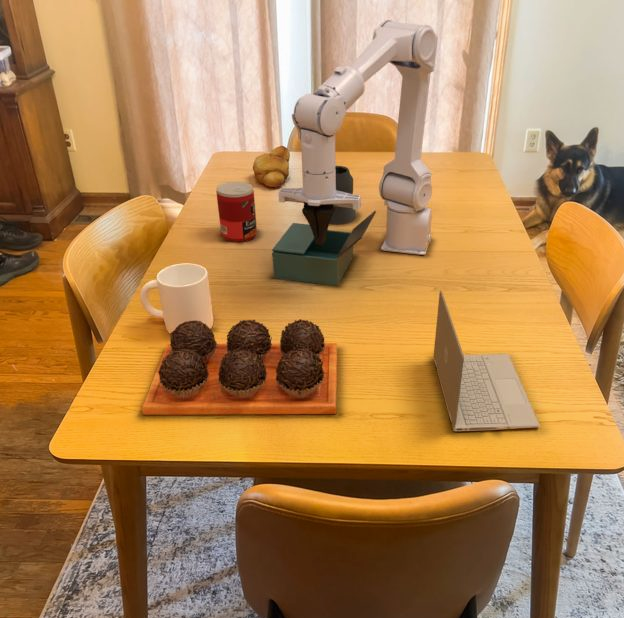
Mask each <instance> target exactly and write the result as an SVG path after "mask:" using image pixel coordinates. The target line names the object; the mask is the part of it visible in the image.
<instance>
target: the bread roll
mask: <svg viewBox="0 0 624 618" xmlns="http://www.w3.org/2000/svg"><path fill="white" fill-rule="evenodd" d="M290 157H291V154H290V150H289V149H288V147H286V146H284V145H279V146H276V147H274V148H273V149H272V150H270V151H269V153H263V154H259V155H258V156H257V157H255V159H254V161H253V163H252V171H253V173H254V174H253V175H254V177H255V179H256V181H257V182H258V183H260V184H264V185H265V186H266V187H270V188H277V187H279V186H283V184H284V182H285V180H286V179H288V178H289V174H290V170H289V169H290Z"/></svg>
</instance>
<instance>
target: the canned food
mask: <svg viewBox="0 0 624 618" xmlns="http://www.w3.org/2000/svg"><path fill="white" fill-rule="evenodd" d="M215 189H216V190H215V191H216V192H215V193H216V201H217V211H218V220H219V226H220V227H219V228H220V235H221V236H222V238H223V239H224V240H226V241H228V242H231V243H244V242H249V241H251V240H253V239H254V238H255V237H256V236H257V232H258V228H257V214H256V201H255V190H254V187H253V185H252V184H250V183H248V182H244V181H228V182H224V183H221V184H219V185H217V186H216V188H215Z"/></svg>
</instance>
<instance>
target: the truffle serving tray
mask: <svg viewBox="0 0 624 618" xmlns="http://www.w3.org/2000/svg"><path fill="white" fill-rule="evenodd" d="M269 331H270V329H268V327H267V326H265V325H264V324H263V323H261V322H259V321H256V319H242V320H239V322H238V323H236V324H235V325H232V327H230V329H229V331H227V335H226V337H227V338H226V343H217V340H216V338H215V334H214V332H213V331H212V328H210V329H209V327H208V326H206V324H204V323H202V322H201V321H197V320H194V321H188V322H184V323H182V324H179V325H178V326H177V327H176V329H175V330H174V331H172V333H169V335H170V337H169V338H170V339H169V341H170V343H166V345H165V347H164V350H163V353H162V355H161V358H160V360H159V363H158V365H157V367H156V368H157V369H156V370H155V373H154V376H153V377H152V381H151V384H150V386H149V389H148V391H147V394H146V397H145V399H144V401H143V404H142V407H141V411H142V415H144V416H151V415H152V416H162V415H163V416H164V415H165V416H167V415H168V416H171V415H174V416H177V415H179V416H181V415H196V416H197V415H199V416H201V415H336V414H337V389H338V388H337V387H338V385H337V384H338V383H337V381H338V379H337V377H338V372H337V371H338V370H337V369H338V344H337V342H334V343H333V342H332V343H331V342H325V336H324V334H323V332H322V329H320V325H317V323H315V324H314V323H313V321H309V320H308V319H307V320H304V319H302V318H300V319H297V320H294V321H293V322H288V323H287V325H285V326H284V329H282V330H281V335H280V339H279V343H277V342H276V343H275V342H274V343H272V339H273V337H272V336H271V335H270V332H269Z"/></svg>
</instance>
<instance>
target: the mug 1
mask: <svg viewBox="0 0 624 618" xmlns="http://www.w3.org/2000/svg"><path fill="white" fill-rule="evenodd" d="M152 290H158V293H159V299H160V305H161V309H157V308H155V307H154V306H153V305H152V304H151V302H150V298H149V294H150V292H151V291H152ZM139 299H140V303H141V306H142V307H143V309H144V310H145V311H146V312H147V313H148V314H149V315H151V316H152V317H153V318H157V319H163V321H164V326H165V329H166V331H167V332H168V333H169V334H170V333H172V331H174V330H175V329H176V327H177V326H178V325H179V324H182V323H184V322H188V321H194V320H197V321H201V322H202V323H204V324H206V326H208V327H209V329H210V328H211V329H212V327H213V326H214V311H213V306H212V304H213V303H212V297H211V289H210V283H209V273H208V270H207V268H205V267H204V266H202V265H200V264H198V263H197V264H196V263H186V262H185V263H177V264H172V265H169V266H166V267H165V268H163V269H161V270H160V271H159V272H158V273H157V274H156V279H152V280H149V281H147V282H146V283H145V284H144V285H143V286H142V288H141V290H140V298H139Z"/></svg>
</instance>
